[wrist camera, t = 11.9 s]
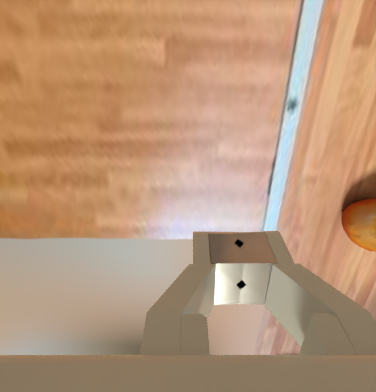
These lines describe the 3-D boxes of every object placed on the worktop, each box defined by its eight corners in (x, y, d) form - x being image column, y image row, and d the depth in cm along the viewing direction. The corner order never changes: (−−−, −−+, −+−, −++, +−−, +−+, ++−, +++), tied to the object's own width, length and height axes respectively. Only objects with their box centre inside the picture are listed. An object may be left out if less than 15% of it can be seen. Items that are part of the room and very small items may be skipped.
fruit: (339, 249, 46) (362, 260, 38) (327, 204, 46) (347, 206, 38) (390, 238, 44) (424, 248, 36) (377, 192, 45) (408, 192, 37)
